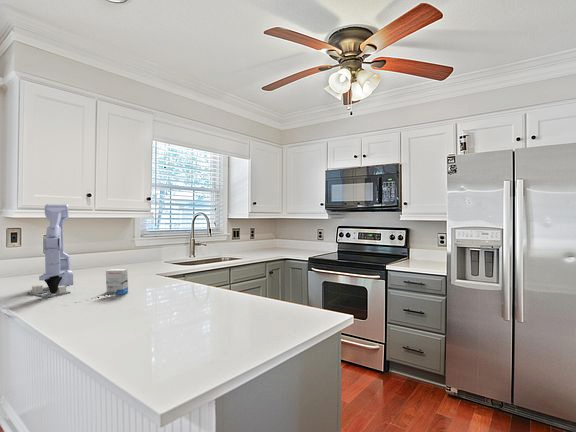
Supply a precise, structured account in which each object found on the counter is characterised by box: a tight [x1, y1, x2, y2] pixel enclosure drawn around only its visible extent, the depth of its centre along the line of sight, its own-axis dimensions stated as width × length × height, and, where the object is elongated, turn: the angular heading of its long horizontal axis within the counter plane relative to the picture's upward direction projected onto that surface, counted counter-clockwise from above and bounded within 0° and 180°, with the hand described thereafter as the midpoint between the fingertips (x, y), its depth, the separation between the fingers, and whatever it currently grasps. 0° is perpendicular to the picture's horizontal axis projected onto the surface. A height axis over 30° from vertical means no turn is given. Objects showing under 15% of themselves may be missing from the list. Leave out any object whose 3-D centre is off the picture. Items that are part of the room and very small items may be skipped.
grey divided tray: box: [27, 288, 71, 299], centre depth 163 cm, size 10×17×2 cm, turn 62°
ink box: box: [105, 268, 129, 296], centre depth 168 cm, size 9×5×12 cm, turn 84°
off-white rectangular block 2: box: [55, 286, 67, 295], centre depth 162 cm, size 3×3×4 cm
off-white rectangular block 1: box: [31, 284, 44, 293], centre depth 164 cm, size 3×3×4 cm
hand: (53, 292), depth 160 cm, fingers closed
